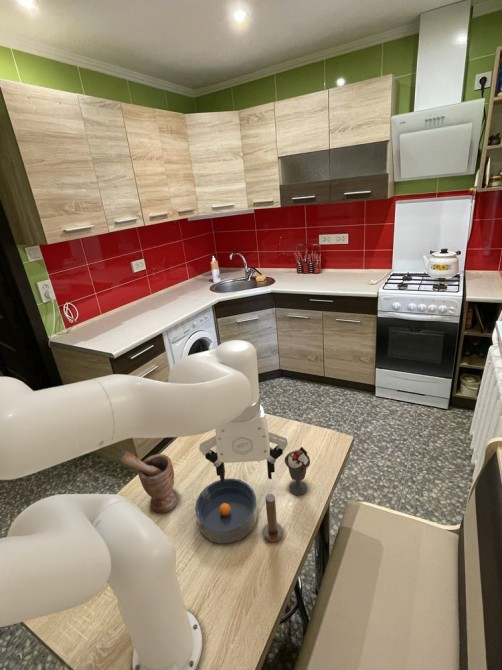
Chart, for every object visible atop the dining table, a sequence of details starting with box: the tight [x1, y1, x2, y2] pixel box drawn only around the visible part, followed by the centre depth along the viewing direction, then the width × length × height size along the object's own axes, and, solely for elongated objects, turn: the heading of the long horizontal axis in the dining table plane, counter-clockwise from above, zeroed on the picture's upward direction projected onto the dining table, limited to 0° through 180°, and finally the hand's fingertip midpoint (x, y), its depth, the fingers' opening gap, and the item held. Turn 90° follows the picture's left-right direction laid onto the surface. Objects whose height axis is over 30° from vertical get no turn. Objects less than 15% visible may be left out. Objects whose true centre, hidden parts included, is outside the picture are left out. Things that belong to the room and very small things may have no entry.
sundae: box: [284, 446, 311, 496], centre depth 91 cm, size 7×7×15 cm
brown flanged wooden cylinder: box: [263, 493, 283, 544], centre depth 81 cm, size 4×4×12 cm
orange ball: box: [219, 503, 231, 516], centre depth 88 cm, size 3×3×3 cm
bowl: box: [194, 478, 259, 544], centre depth 87 cm, size 15×15×5 cm
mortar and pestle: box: [117, 450, 179, 514], centre depth 89 cm, size 12×9×20 cm
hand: (246, 475), depth 71 cm, fingers open, 9 cm apart
